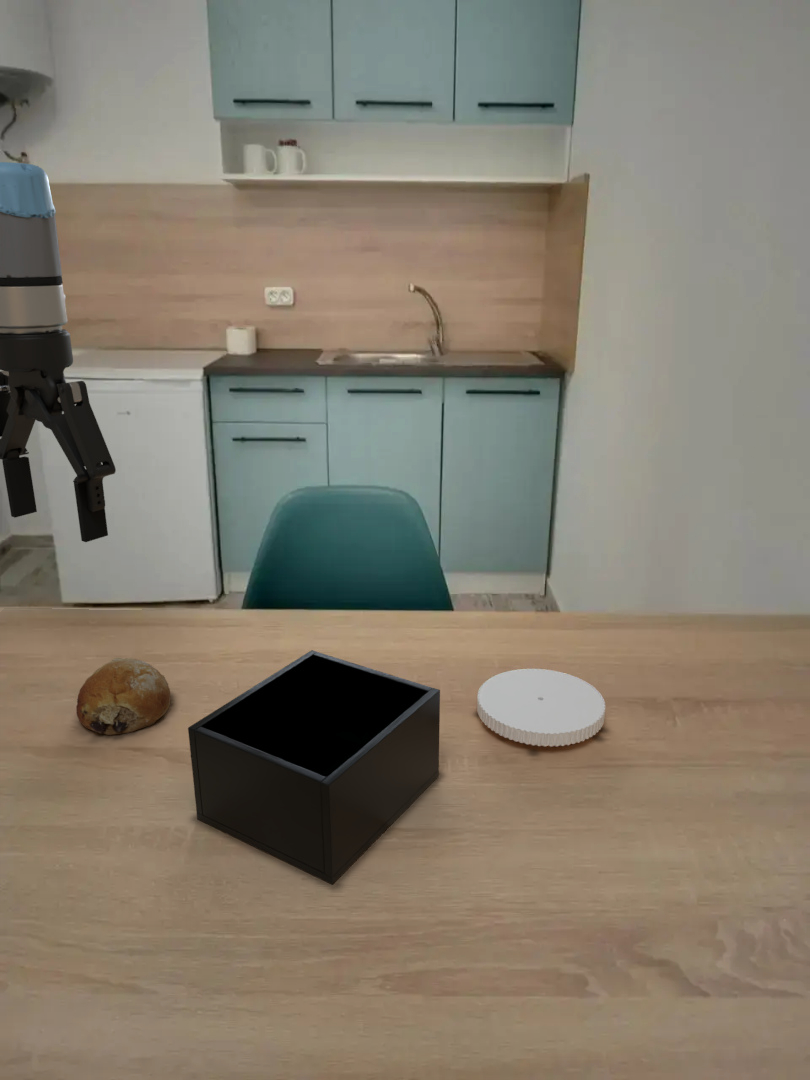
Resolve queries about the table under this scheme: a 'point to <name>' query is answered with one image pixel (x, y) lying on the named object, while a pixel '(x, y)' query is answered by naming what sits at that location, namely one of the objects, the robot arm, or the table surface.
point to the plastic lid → (541, 707)
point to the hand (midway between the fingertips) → (58, 526)
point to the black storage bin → (316, 761)
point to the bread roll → (123, 697)
